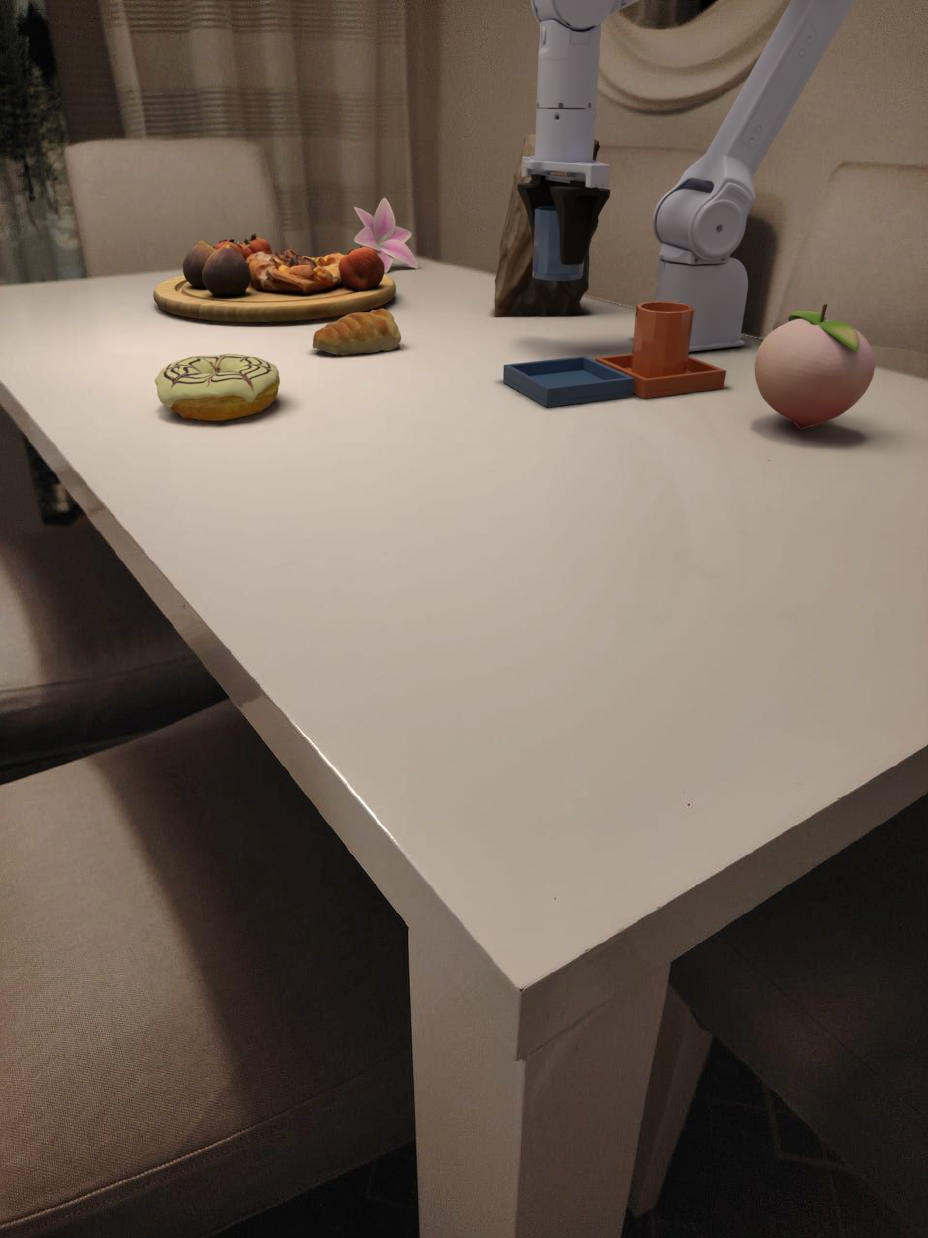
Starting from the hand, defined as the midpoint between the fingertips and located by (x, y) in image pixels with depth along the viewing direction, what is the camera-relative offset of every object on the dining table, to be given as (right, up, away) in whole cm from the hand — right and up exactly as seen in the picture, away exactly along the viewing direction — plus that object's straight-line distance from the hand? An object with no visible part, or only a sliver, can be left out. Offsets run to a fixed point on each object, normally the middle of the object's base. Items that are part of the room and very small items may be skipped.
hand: (558, 259), depth 94 cm
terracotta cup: (+9, -14, -6) cm, 17 cm away
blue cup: (0, -1, +1) cm, 2 cm away
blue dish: (0, -15, -8) cm, 17 cm away
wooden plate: (-35, +6, +29) cm, 46 cm away
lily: (-23, +19, +53) cm, 60 cm away
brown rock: (-1, +3, +25) cm, 25 cm away
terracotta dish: (+9, -14, -5) cm, 18 cm away
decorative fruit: (+18, -22, -18) cm, 33 cm away
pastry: (-21, -8, +6) cm, 23 cm away
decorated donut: (-31, -18, -13) cm, 39 cm away
